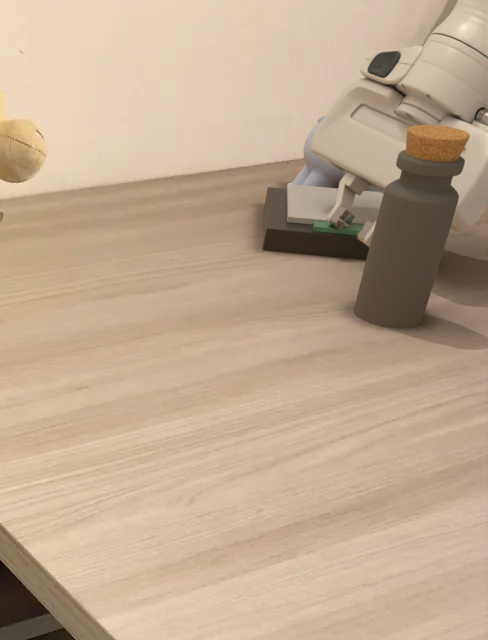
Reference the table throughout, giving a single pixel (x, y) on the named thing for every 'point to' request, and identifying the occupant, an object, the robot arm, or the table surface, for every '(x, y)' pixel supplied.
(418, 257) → the bottle
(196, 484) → the table surface
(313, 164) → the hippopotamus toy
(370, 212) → the scale
